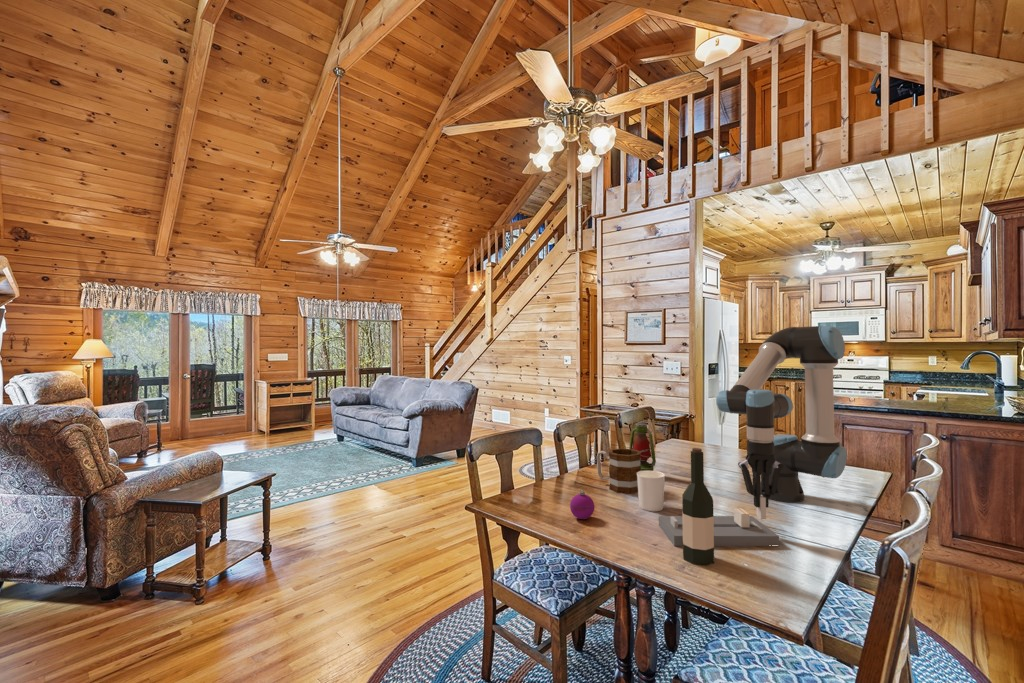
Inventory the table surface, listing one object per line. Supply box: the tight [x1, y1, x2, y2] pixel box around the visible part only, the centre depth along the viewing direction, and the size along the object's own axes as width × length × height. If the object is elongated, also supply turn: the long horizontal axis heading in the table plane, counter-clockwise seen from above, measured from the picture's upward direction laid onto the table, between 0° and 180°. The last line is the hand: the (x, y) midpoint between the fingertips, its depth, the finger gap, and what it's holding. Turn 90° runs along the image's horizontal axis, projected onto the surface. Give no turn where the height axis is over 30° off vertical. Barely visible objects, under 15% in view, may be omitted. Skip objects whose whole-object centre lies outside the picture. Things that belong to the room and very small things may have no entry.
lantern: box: [628, 407, 657, 471], centre depth 212 cm, size 14×11×30 cm
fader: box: [733, 507, 750, 527], centre depth 145 cm, size 2×5×4 cm, turn 178°
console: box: [658, 515, 780, 547], centre depth 145 cm, size 30×16×5 cm, turn 88°
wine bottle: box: [681, 447, 715, 567], centre depth 129 cm, size 8×8×30 cm
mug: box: [596, 447, 641, 495], centre depth 195 cm, size 20×14×15 cm
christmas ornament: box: [569, 488, 595, 520], centre depth 160 cm, size 8×8×10 cm
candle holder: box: [637, 470, 666, 512], centre depth 170 cm, size 10×10×12 cm
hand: (761, 517), depth 145 cm, fingers closed
